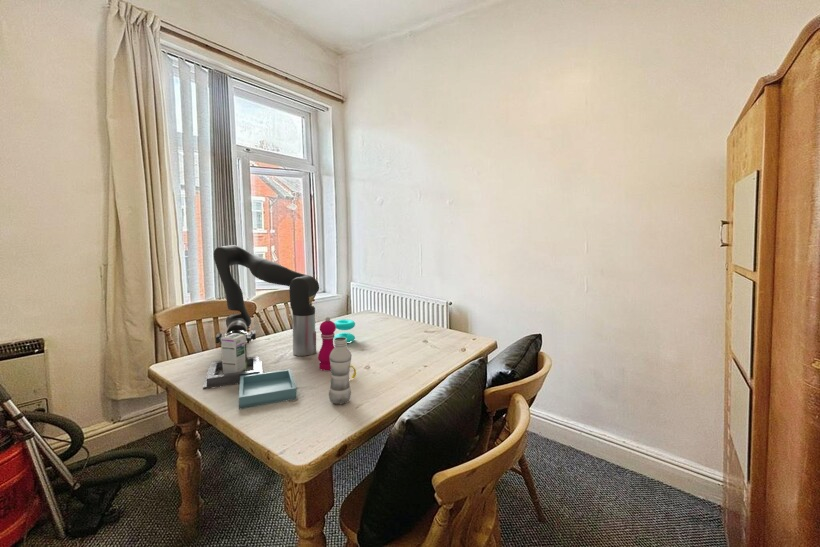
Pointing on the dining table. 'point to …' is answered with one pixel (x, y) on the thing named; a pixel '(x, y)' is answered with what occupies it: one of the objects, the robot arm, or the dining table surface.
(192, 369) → the dining table surface
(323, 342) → the pepper mill
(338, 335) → the donuts
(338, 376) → the plastic bottle
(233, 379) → the metal socket
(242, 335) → the syrup box
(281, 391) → the tray
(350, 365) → the watch
